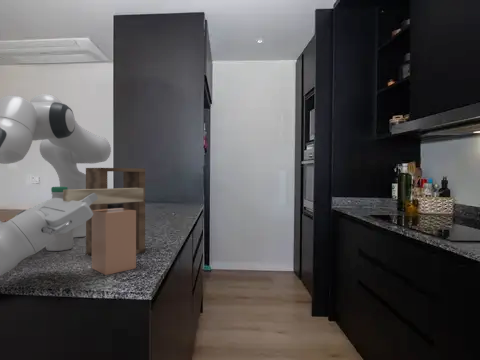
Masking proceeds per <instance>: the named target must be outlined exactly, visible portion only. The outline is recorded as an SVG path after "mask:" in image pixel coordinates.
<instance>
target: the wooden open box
mask: <svg viewBox="0 0 480 360" xmlns="http://www.w3.org/2000/svg"><path fill="white" fill-rule="evenodd" d="M108 172H123V173H122V174H123V175H122V176H123V180H122V181H123V184H122V186H123V187H122V188H143V201H139V202H123V208H124V209H130V210H136V255H138V254H141V253H142V254H143V253H146V168H141V167H140V168H136V167H133V168H131V167H85V174H86V189H108ZM89 207H90V209H91V210H102V209H108V203H107V204H91V205H90V206H89ZM85 255H87V256H89V257H91V258H92V217H91V218H90V219H89V220H87V221H86V236H85Z"/></svg>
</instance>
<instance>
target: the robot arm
mask: <svg viewBox="0 0 480 360" xmlns="http://www.w3.org/2000/svg"><path fill="white" fill-rule="evenodd" d="M33 141H40V144H39V152H40V156H41V157H42V158H43V159H44V160H45V161H46V162H47V163H48V164H50V165H51V166H52V168H53V169H54V170H55V173H56V175H58V176H57V177H58V181H59V187H67V188H68V190H76V189H86V173H85V172H84V173H83V172H82V171H80V170H79V168H78V166H77V164H98V163H99V164H100V163H103V162H106V161H107V160H108V159H109V158H110V156H111V152H112V147H111V144H110V142H109V141H108V139H107V138H105V137H104V136H100V135H97V134H94V133H93V132H91V131H89V130H87V129H85V128H84V127H83V126H81V125H80V124H79V123H78V122H77V121H76V119H75V115H74V111H73V110H72V108H71V107H70V106H68V105H67V104H65V103H63V102H61V100H59V98H57V97H56V96H54V95H52V94H49V93H39V94H38V95H35V96H34V97H33V98H31V99H30V100H28V99H26V98H24V97H23V96H18V95H5V96H3V97H1V98H0V164H3V165H7V164H8V165H9V164H15V163H17V162H20V161H22V160H23V159H25V157H26V156H27V154H28V152H29V151H30V149H31V146H32V143H33ZM97 199H98V197H97V195H96V194H95V193H90V194H88V195H87V196H86V197H85V198H84V199H82V200H80V201H74V200H71V201H69V202H68V201H63V199H61V198H53V199H52V198H49V199H47V200H46V201H44V202H41V203H39V204H38V205H35V206H33V207H30V208H28V209H23V210H20V211H19V212H18V213H16V215H15V216H14V217H12V218H10V219H9V220H7V221H5V222H4V221H1V219H0V277H2V276H3V275H4V274H7V273H8V272H9V271H11V270H12V269H14V268H15V267H16V266H17V265H18V264H19V263H20V262H21V261H22V260H25V259H26V258H27V257H31V256H33V255H35V254H36V253H38V252H39V251H41V250H43V249H44V248H46V246H47V245H49V244H50V243H52V242H53V241H55V240H56V238H55V235H54V234H55V233H59V234H64V233H66V232H69V231H70V230H72V229H73V238H82V237H86V221H87V220H89V219H90V218H91V217H92V216H93V212H92V210H91V209H90V207H89V206H90V205H91V204H92V203H93V202H94V201H96V200H97Z"/></svg>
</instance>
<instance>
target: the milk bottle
mask: <svg viewBox="0 0 480 360" xmlns="http://www.w3.org/2000/svg"><path fill="white" fill-rule="evenodd" d="M50 190H51V195H52V196H51V199H53V198H61V199H63V190H68V188H67V187H60V186H52V187H51V188H50ZM54 235H55V238H56V240H55V241H53V242H52V243H50V244H49V245H47V246H46V247H45V249H46V251H49V252H60V251H68V250H71V249H73V248H74V237H73V229H72V230H70V231H69V232H66V233H64V234H59V233H55V234H54Z"/></svg>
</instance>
